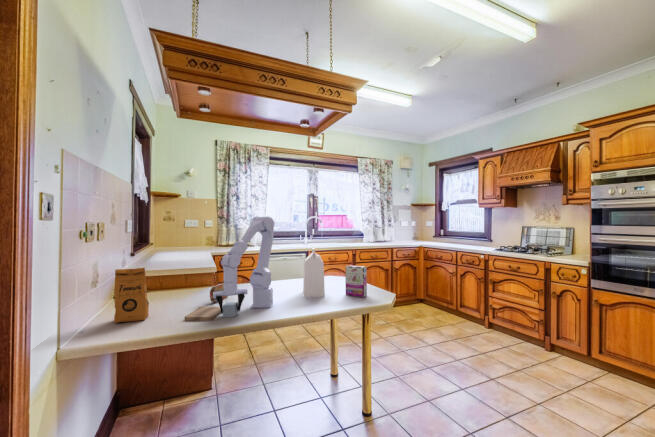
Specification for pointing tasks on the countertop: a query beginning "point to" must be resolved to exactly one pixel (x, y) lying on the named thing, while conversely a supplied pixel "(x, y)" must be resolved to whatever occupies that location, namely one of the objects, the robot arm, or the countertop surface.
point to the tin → (216, 289)
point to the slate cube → (230, 309)
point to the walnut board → (204, 314)
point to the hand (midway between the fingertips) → (230, 311)
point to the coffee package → (130, 295)
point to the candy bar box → (356, 281)
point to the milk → (313, 276)
